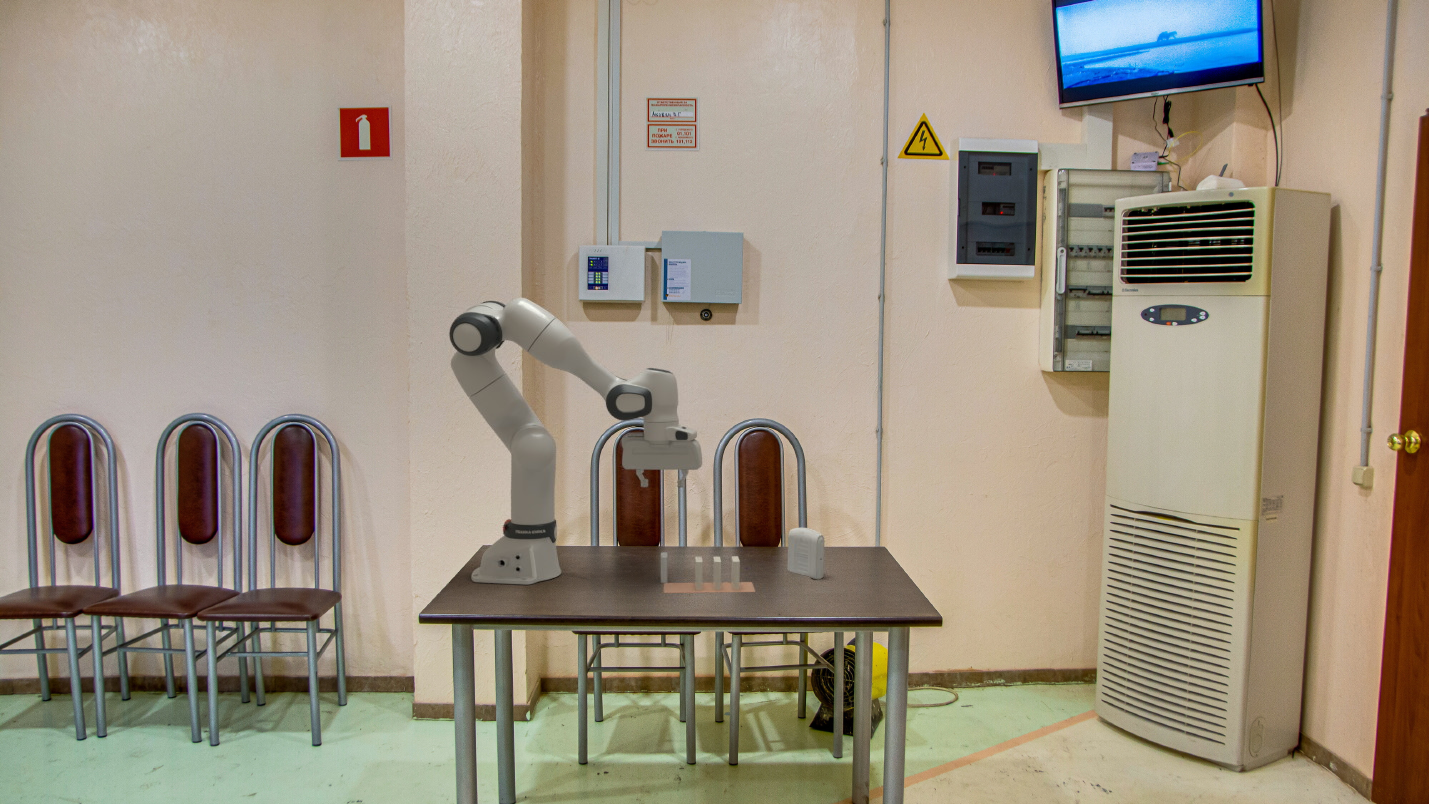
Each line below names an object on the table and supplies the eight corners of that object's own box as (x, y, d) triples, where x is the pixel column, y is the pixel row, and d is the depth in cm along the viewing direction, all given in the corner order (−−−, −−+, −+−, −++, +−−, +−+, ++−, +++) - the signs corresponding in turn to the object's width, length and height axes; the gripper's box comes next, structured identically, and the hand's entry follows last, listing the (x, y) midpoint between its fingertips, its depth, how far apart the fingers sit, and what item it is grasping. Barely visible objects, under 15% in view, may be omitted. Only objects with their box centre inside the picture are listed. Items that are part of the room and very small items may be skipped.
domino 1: (660, 585, 196) (660, 557, 195) (660, 579, 201) (661, 552, 200) (667, 585, 196) (667, 557, 195) (667, 579, 201) (667, 552, 200)
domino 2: (695, 590, 189) (695, 562, 189) (695, 584, 194) (695, 556, 194) (702, 590, 189) (702, 562, 189) (701, 584, 194) (701, 556, 194)
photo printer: (826, 577, 203) (827, 530, 203) (816, 580, 200) (817, 532, 200) (794, 569, 210) (795, 524, 210) (784, 572, 207) (785, 526, 207)
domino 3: (714, 590, 189) (714, 561, 189) (713, 584, 194) (713, 556, 194) (721, 590, 190) (721, 561, 189) (719, 584, 194) (719, 556, 194)
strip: (663, 595, 187) (663, 592, 187) (663, 585, 195) (664, 583, 195) (755, 594, 189) (755, 591, 189) (751, 584, 197) (751, 582, 196)
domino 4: (732, 590, 190) (733, 561, 189) (731, 584, 195) (731, 556, 194) (739, 590, 190) (739, 561, 189) (737, 584, 195) (737, 556, 194)
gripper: (617, 433, 196) (619, 488, 197) (698, 433, 192) (699, 489, 193) (625, 431, 202) (626, 484, 203) (703, 431, 198) (704, 485, 199)
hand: (662, 486), depth 198 cm, fingers open, 8 cm apart
